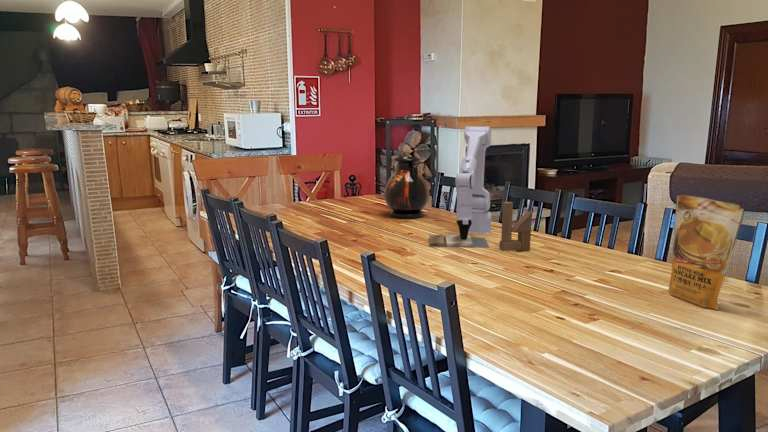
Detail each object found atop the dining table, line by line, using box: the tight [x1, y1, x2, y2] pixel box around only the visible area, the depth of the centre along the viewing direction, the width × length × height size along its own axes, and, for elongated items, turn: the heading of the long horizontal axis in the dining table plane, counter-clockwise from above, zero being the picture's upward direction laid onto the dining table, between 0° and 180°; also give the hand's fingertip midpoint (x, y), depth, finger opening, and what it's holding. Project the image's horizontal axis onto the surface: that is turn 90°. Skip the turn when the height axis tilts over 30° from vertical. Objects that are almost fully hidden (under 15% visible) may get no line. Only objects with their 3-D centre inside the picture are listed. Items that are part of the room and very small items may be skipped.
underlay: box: [429, 237, 490, 249], centre depth 221 cm, size 22×16×1 cm
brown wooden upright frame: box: [498, 201, 533, 252], centre depth 210 cm, size 4×11×18 cm, turn 104°
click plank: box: [444, 234, 473, 247], centre depth 221 cm, size 10×14×1 cm
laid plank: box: [428, 234, 446, 247], centre depth 222 cm, size 6×14×1 cm, turn 176°
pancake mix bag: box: [667, 194, 745, 311], centre depth 154 cm, size 7×19×28 cm, turn 19°
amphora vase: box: [384, 156, 430, 219], centre depth 275 cm, size 22×22×28 cm
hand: (463, 239), depth 221 cm, fingers closed, pressing on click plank
